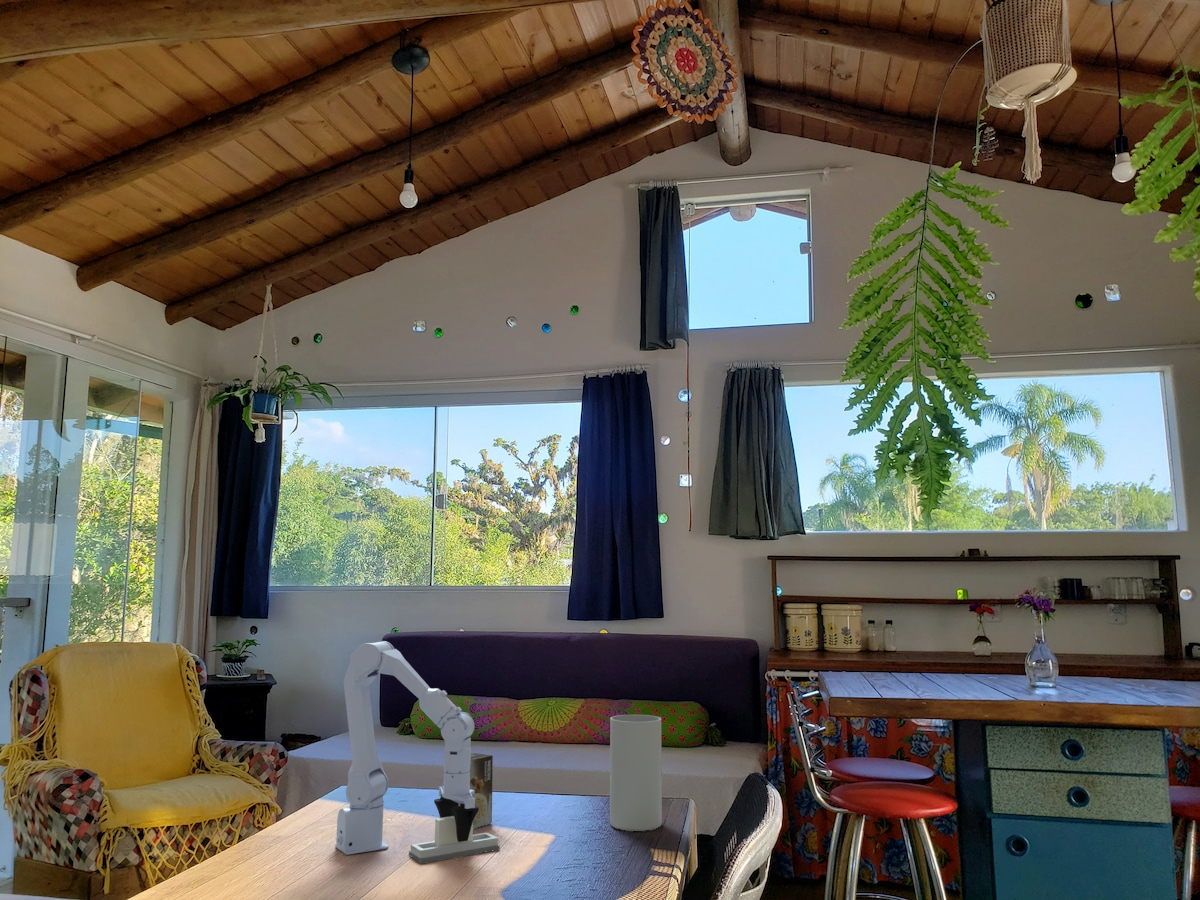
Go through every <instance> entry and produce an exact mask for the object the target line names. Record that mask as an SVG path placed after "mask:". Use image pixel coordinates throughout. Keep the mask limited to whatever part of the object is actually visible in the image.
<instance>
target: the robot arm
mask: <svg viewBox="0 0 1200 900" xmlns="http://www.w3.org/2000/svg"><path fill="white" fill-rule="evenodd" d="M349 660H350V662H349V664H348V668H347V671H346V673H345V675H344V678H343V690H344V699H345V706H346V707H345V708H346V716H347V717H346V718H347V725H348V733H349V734H348V735H349V742H350V743H349V744H350V751H351V759H352V760H351V761H352V762H351V765H350V767H349V770H348V771H347V785H346V787H345V798H346V800H347V802H348V803H349V806H347V807H342V808H340V809H339V811H338V813H337V819H336V820H337V823H336V843H335V845H334V846H335V848H336V849H338V850H339V851H340V852H342V853H343V854H344V855H347V856H348V855H355V854H361V853H366V852H374V851H379V850H384V849H385V850H387V849H389V845H388V844H387V843H385V842H384V841H383V828H384V826H383V823H384V805H385V803H384V802H385V801H384V795H385V794H386V793H387V791H388V790H389V786H390V785H389V784H390V781H389V778H388V776H387V774H386V773H385V770H384V766H383V762H382V761H381V760H380V759H379V757H378V754H377V744H376V737H375V728H374V720H373V718H374V717H373V712H372V711H373V710H372V702H371V695H370V685H371V683H373V681H374V680H375V679H376V678H377V676H378V675H379V674H383V675H389V676H393V677H395V678H396V680H398V682H400V683H401V684H402V685H403V686H404V687H406V689H408V691H410V692H411V693H412V694H413V695H414V696H416V698H417V699H418V700H419V702H418V703H419V704H418V705H419V709H420V710H421V711H422V712H424V714H425V715H426V716H427V717H428V718H429V719H430V721H432V722H433V723H434V724H435V726H437V727H438V728H439V729H440V734H441V737H442V739H443V740H444V759H443V761H444V762H443V785H441V786H438V796H440V798H436V799H434V800H433V803H434V804H435V807H436V809H437V811H438V814H439V818H443V817H450V816H454V818H455V823H456V834H457V840H458V842H462V841H468V837H469V834H470V830H471V826H472V823H473V820H474V818H475V816H476V814H477V812H478V811H479V807H478V806H475V798H473V796H472V794H474V790H471V789H470V763H471V754H472V747H471V746H472V745H471V742H472V741H471V740H472V738H471V736H472V735H473V733H474V731H475V722H474V719H473V718H472V716H471V714H470V713H468V712H464V711H463V709H462V708H461V707H460V706H456V705H455V704H454V702H452V701H451V700H450V699H449V698H448V697H447V696H448V693H447V691H446V690H444V689H443V690H441V689H440V688H438V687H437V688H431V687H430V686H429V685H428V683H426V681H425V680H424V679H423V678H422V677H421V676H420V675H419V673H418V672H417V671H416V670H415V669H414V668H413V667H412V665H411V664H410V663H409V661H407V660H406V659H405V657H404V656H403V654H402V653H401V651H399V650H398V649H397V648H395V647H394V645H392V644H391V643H390V642H389V641H386V640H381V641H376V642H371V643H370V642H365V643H362V644H360V645H359V646H358V647H357V648H356V649H355V650H354V651H353V652H352V653H351V654H350V657H349ZM458 804H460V806H458Z"/></svg>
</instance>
